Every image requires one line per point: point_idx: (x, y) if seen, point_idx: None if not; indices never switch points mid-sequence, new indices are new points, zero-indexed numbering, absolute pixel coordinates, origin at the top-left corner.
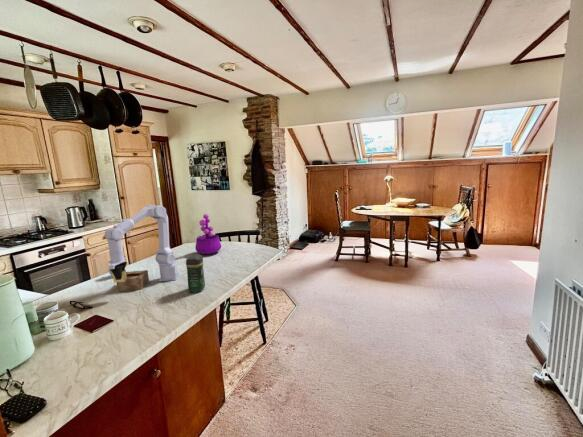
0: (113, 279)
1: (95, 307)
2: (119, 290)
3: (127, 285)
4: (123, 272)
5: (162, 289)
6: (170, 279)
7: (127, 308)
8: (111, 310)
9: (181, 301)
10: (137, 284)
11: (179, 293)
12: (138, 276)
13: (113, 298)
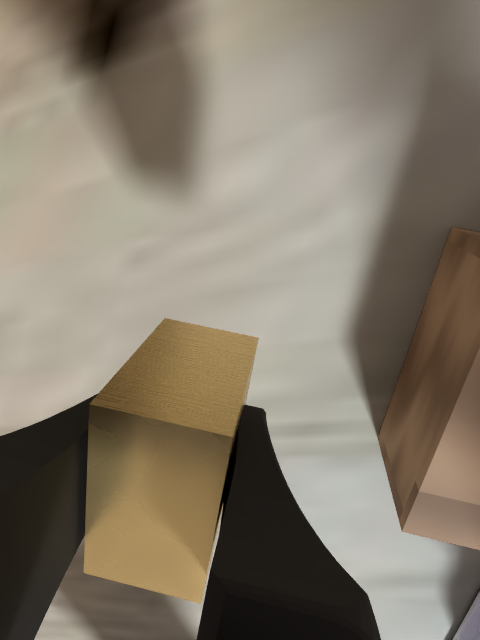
0: (148, 340)
1: (91, 96)
2: (448, 247)
3: (431, 352)
4: (95, 564)
5: None
6: (472, 632)
7: (15, 369)
8: (2, 263)
9: (48, 625)
10: (397, 444)
11: (167, 632)
12: (473, 516)
13: (258, 223)
